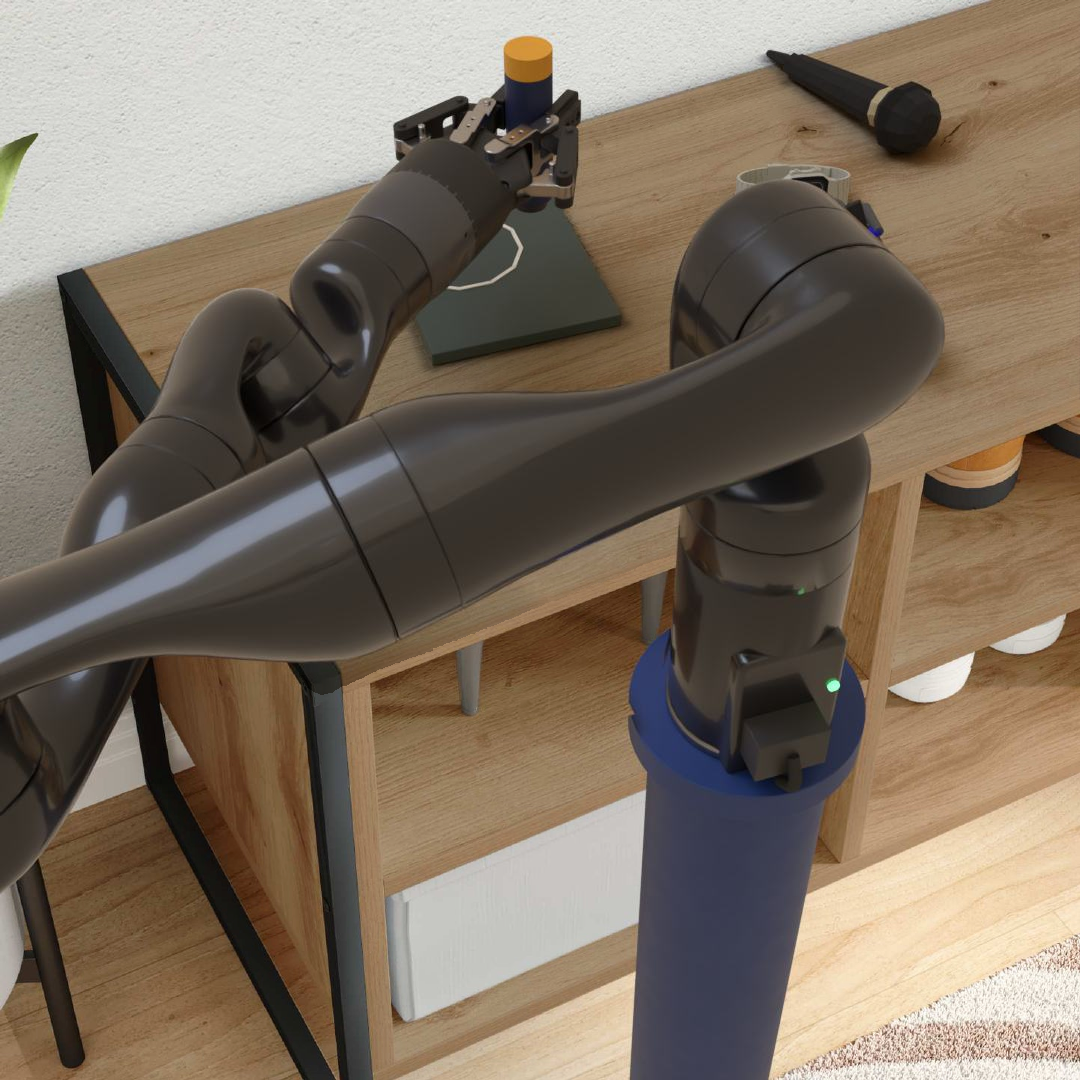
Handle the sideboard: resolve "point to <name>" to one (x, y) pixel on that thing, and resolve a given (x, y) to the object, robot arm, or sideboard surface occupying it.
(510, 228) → the slate
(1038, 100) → the sideboard surface
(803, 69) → the microphone
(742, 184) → the wristwatch
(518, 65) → the marker
